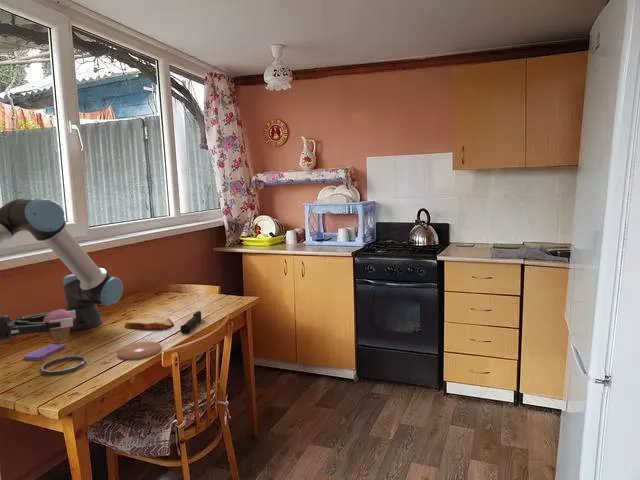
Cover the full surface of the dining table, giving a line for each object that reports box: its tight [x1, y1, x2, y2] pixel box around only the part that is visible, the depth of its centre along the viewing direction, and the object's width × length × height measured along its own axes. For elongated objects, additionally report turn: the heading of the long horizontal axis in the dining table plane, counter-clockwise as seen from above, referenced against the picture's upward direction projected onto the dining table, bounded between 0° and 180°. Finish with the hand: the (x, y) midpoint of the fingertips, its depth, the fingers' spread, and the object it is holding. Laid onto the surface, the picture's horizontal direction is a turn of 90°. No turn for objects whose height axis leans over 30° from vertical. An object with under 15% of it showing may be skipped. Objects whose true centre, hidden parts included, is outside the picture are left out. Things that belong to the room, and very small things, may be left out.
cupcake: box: [43, 308, 74, 342], centre depth 155 cm, size 9×9×10 cm
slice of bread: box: [124, 317, 175, 331], centre depth 198 cm, size 18×18×4 cm
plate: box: [116, 341, 162, 361], centre depth 169 cm, size 15×15×1 cm
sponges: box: [22, 343, 67, 361], centre depth 171 cm, size 7×13×2 cm, turn 167°
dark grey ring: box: [40, 355, 87, 376], centre depth 157 cm, size 13×13×1 cm
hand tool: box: [180, 310, 202, 335], centre depth 196 cm, size 19×4×5 cm, turn 173°
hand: (73, 318), depth 157 cm, fingers closed on cupcake, 9 cm apart
